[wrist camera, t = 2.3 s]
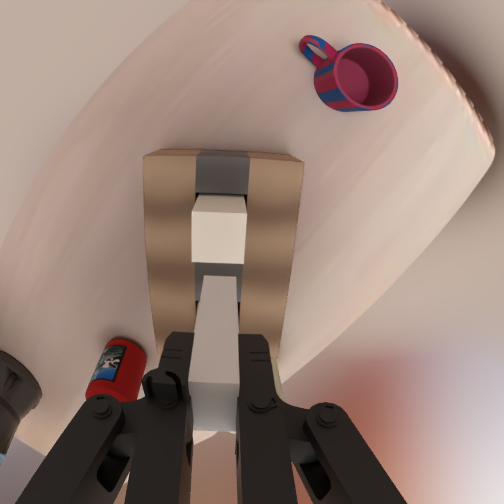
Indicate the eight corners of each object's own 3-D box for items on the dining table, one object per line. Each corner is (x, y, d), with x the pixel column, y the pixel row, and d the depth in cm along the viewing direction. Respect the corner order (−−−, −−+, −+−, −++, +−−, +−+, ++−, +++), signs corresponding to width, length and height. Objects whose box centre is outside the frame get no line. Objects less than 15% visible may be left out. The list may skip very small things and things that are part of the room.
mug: (345, 123, 31) (371, 124, 25) (278, 64, 28) (289, 49, 22) (379, 85, 29) (409, 80, 23) (315, 26, 26) (334, 7, 20)
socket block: (270, 323, 41) (277, 357, 34) (166, 319, 39) (157, 354, 33) (289, 154, 32) (304, 162, 26) (160, 149, 31) (143, 155, 24)
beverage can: (114, 328, 40) (88, 388, 29) (155, 350, 42) (139, 414, 31) (100, 354, 42) (76, 411, 31) (137, 374, 44) (121, 433, 33)
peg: (199, 231, 30) (191, 261, 23) (200, 190, 28) (191, 211, 22) (240, 232, 30) (243, 264, 24) (243, 192, 28) (247, 213, 22)
